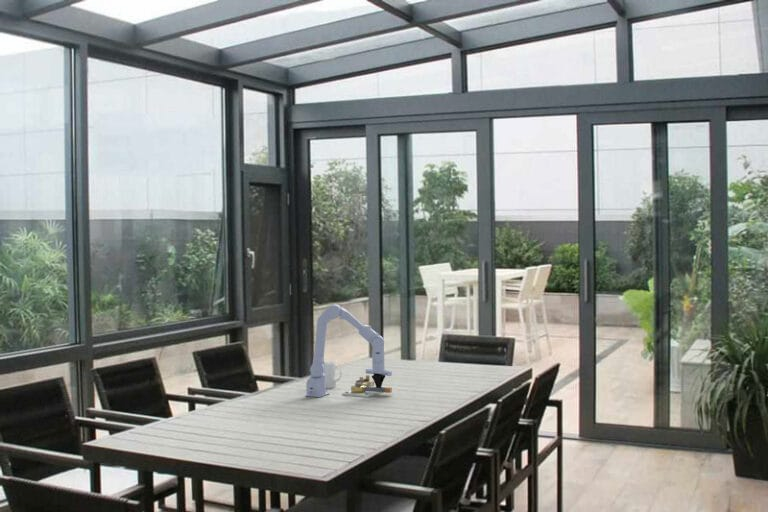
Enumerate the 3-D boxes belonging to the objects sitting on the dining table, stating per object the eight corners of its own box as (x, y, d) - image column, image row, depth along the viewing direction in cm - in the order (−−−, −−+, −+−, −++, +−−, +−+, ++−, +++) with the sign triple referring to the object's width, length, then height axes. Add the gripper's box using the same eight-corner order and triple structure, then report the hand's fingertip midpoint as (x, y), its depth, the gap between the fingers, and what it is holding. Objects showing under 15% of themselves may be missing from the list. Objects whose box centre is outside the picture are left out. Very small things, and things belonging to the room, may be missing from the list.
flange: (367, 397, 411) (367, 386, 411) (342, 395, 418) (342, 384, 418) (385, 391, 425) (384, 380, 425) (360, 389, 432) (360, 379, 432)
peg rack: (363, 388, 436) (363, 378, 436) (355, 387, 438) (354, 377, 438) (374, 385, 444) (374, 375, 444) (365, 384, 447) (365, 374, 447)
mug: (345, 386, 443) (344, 362, 443) (336, 389, 436) (336, 364, 435) (324, 384, 448) (324, 361, 448) (316, 387, 441) (315, 363, 441)
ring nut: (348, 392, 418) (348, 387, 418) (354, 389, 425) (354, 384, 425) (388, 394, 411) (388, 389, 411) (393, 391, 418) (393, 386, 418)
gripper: (395, 361, 417) (396, 390, 418) (372, 359, 427) (372, 387, 427) (385, 363, 412) (386, 392, 412) (362, 360, 421) (363, 389, 422)
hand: (378, 389), depth 419 cm, fingers closed
